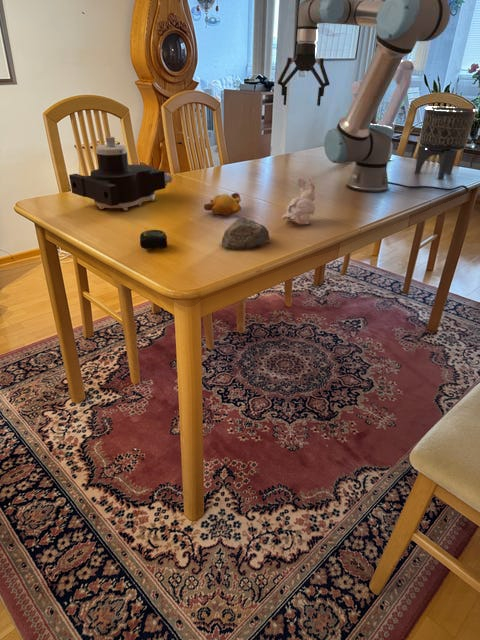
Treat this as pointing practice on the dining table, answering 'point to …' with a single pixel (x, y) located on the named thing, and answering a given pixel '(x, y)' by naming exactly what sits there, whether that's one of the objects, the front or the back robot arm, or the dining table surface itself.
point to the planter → (444, 136)
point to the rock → (245, 234)
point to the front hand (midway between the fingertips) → (301, 105)
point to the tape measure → (153, 239)
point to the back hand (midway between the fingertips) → (352, 136)
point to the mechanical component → (118, 179)
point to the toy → (224, 204)
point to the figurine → (301, 204)
